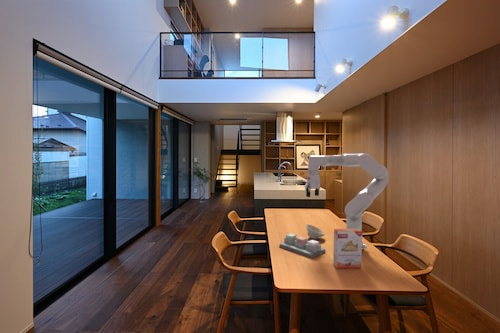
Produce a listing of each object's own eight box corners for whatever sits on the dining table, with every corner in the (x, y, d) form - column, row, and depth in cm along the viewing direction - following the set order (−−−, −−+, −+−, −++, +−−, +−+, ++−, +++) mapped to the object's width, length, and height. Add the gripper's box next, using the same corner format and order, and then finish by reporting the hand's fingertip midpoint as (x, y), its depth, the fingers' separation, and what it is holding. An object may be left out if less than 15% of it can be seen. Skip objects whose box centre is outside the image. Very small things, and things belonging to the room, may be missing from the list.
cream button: (318, 246, 162) (318, 241, 162) (314, 248, 159) (314, 243, 159) (312, 244, 166) (312, 239, 166) (307, 246, 163) (307, 241, 163)
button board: (325, 252, 165) (325, 243, 164) (311, 258, 155) (311, 249, 155) (293, 241, 184) (293, 234, 184) (279, 246, 174) (279, 238, 174)
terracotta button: (307, 242, 169) (307, 238, 169) (302, 244, 166) (302, 239, 166) (301, 240, 173) (301, 236, 173) (296, 242, 170) (296, 238, 169)
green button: (296, 239, 176) (296, 235, 176) (291, 240, 173) (291, 236, 172) (290, 237, 180) (290, 233, 179) (286, 239, 176) (286, 234, 176)
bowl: (325, 242, 182) (325, 228, 182) (305, 241, 185) (305, 227, 185) (323, 236, 197) (323, 223, 197) (305, 234, 200) (305, 222, 199)
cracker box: (337, 269, 140) (337, 231, 139) (332, 264, 146) (333, 228, 145) (361, 268, 141) (362, 231, 140) (356, 263, 147) (357, 227, 146)
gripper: (309, 173, 176) (309, 198, 177) (325, 172, 186) (324, 195, 187) (301, 172, 181) (300, 196, 182) (316, 171, 192) (315, 194, 193)
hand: (312, 196), depth 185 cm, fingers open, 9 cm apart
